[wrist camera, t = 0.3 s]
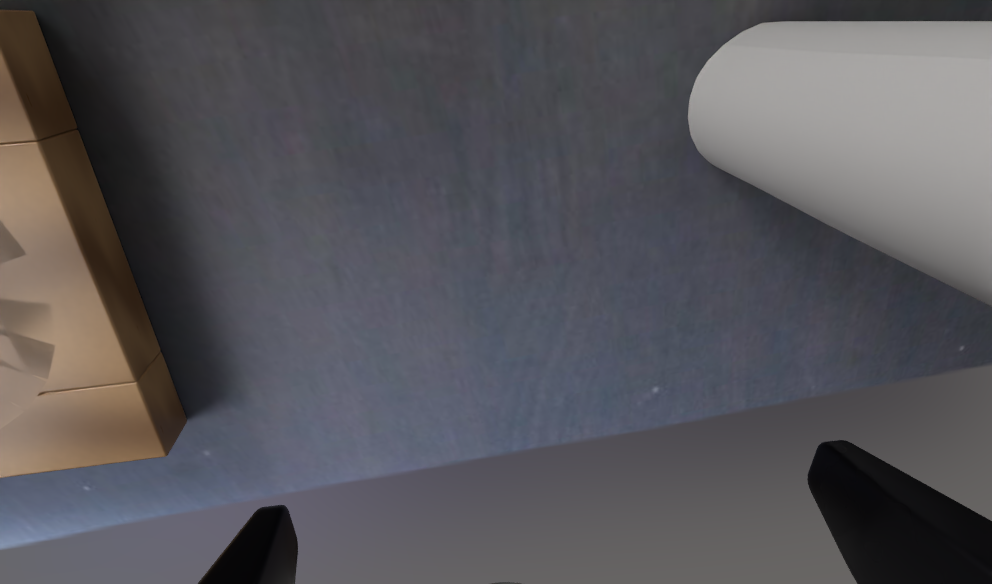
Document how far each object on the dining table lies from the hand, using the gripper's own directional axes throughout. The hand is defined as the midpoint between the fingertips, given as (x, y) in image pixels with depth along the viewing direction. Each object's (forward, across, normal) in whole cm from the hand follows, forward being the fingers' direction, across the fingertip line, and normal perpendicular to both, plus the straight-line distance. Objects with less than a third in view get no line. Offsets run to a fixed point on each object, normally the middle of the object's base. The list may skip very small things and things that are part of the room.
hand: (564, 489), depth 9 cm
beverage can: (+12, -9, -4) cm, 16 cm away
